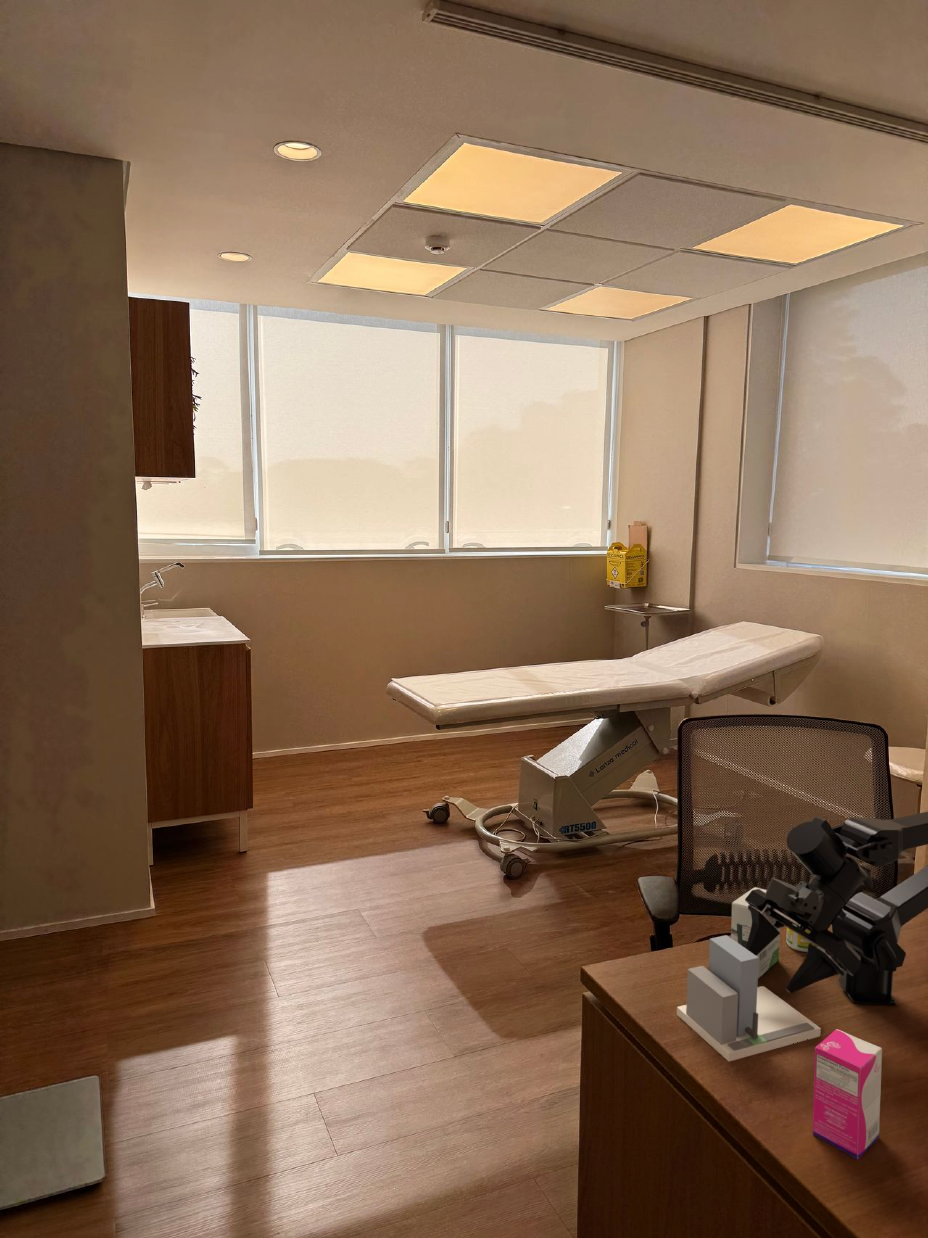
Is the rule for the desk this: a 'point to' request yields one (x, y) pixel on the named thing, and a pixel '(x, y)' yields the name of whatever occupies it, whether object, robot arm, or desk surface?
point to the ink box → (742, 930)
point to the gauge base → (766, 1024)
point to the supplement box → (847, 1092)
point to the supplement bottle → (797, 941)
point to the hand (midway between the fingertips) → (765, 975)
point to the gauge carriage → (737, 979)
